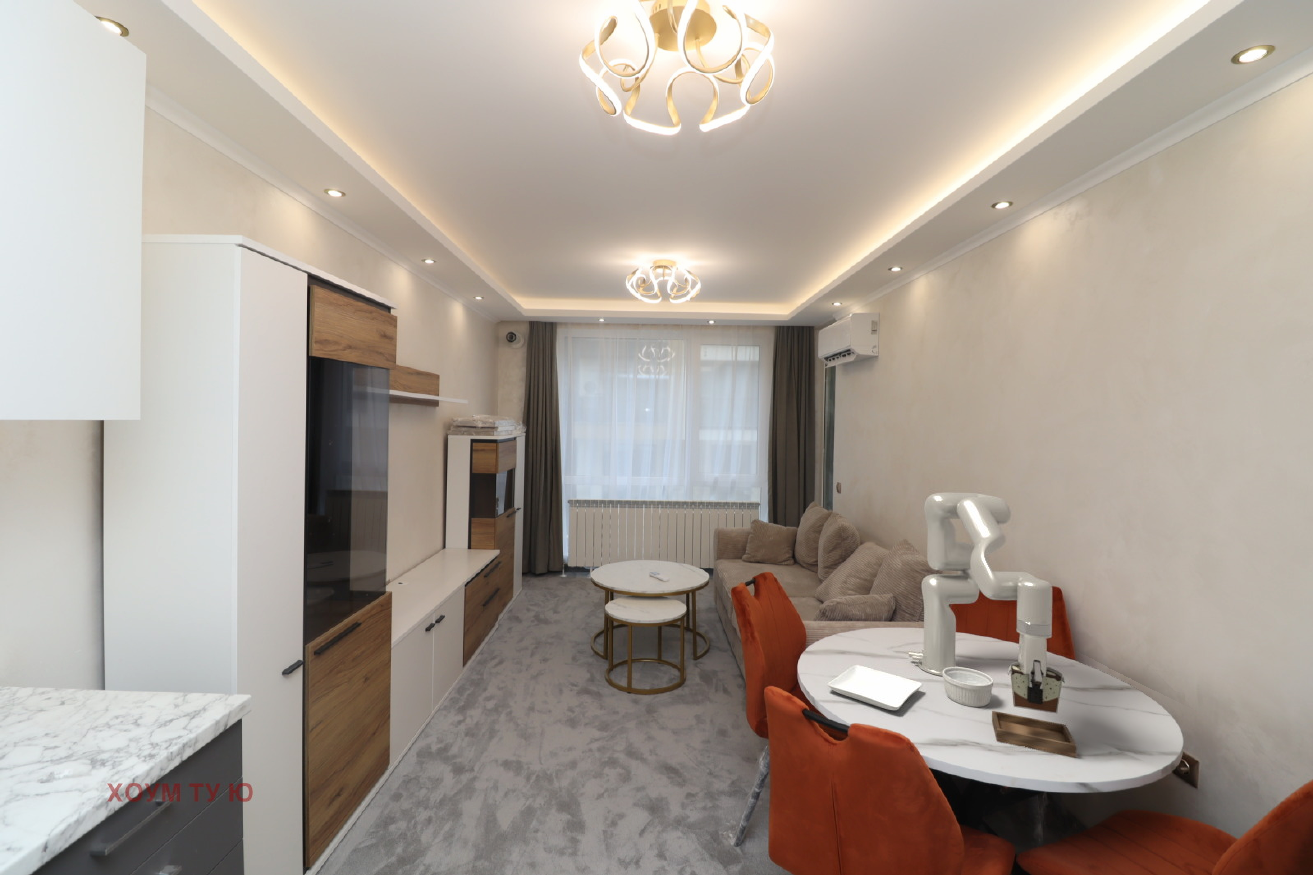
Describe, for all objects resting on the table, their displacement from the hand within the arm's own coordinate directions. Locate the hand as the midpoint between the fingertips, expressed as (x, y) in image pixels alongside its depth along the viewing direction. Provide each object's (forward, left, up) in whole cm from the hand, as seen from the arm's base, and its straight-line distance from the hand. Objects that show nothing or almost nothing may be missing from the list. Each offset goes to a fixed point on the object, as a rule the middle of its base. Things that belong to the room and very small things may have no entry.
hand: (1032, 697), depth 145 cm
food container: (0, +1, -2) cm, 3 cm away
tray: (0, 0, -11) cm, 11 cm away
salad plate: (-39, +9, -11) cm, 41 cm away
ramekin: (-14, +18, -11) cm, 25 cm away
